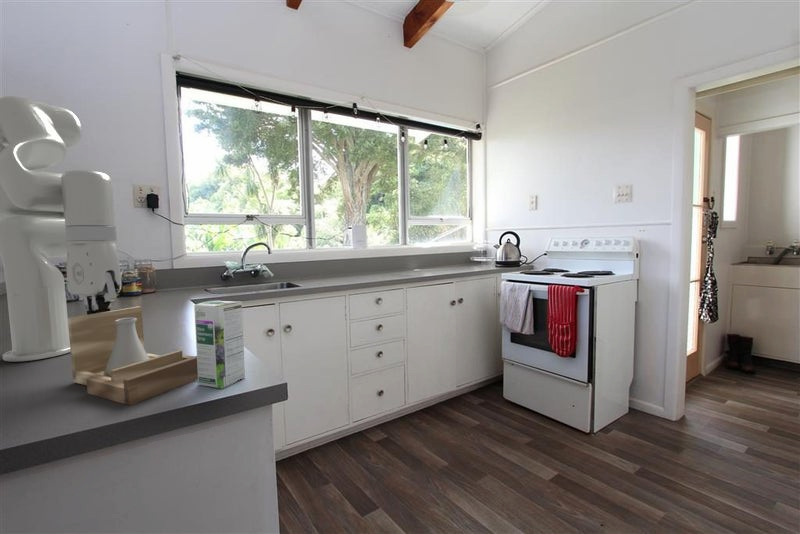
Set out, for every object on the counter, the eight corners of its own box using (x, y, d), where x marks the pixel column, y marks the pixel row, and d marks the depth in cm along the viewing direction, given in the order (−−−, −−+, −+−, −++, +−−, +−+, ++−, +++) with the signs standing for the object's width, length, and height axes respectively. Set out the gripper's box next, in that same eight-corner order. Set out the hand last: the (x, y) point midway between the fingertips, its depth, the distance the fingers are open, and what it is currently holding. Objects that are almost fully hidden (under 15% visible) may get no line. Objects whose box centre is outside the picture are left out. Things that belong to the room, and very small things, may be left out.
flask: (161, 365, 73) (158, 315, 72) (128, 379, 65) (124, 324, 65) (130, 363, 74) (126, 314, 73) (94, 377, 67) (90, 323, 66)
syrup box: (196, 385, 65) (191, 304, 64) (223, 374, 70) (219, 298, 69) (221, 389, 63) (217, 305, 62) (247, 377, 68) (243, 300, 67)
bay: (87, 393, 62) (85, 370, 62) (174, 364, 76) (173, 345, 76) (130, 405, 57) (128, 380, 57) (215, 372, 71) (214, 352, 71)
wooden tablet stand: (73, 381, 67) (67, 317, 66) (142, 361, 78) (138, 306, 77) (115, 393, 62) (109, 323, 61) (183, 369, 72) (179, 310, 72)
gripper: (47, 237, 71) (56, 330, 72) (90, 235, 65) (99, 337, 66) (93, 237, 78) (100, 322, 79) (136, 235, 72) (143, 327, 73)
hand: (100, 329), depth 73 cm, fingers closed
